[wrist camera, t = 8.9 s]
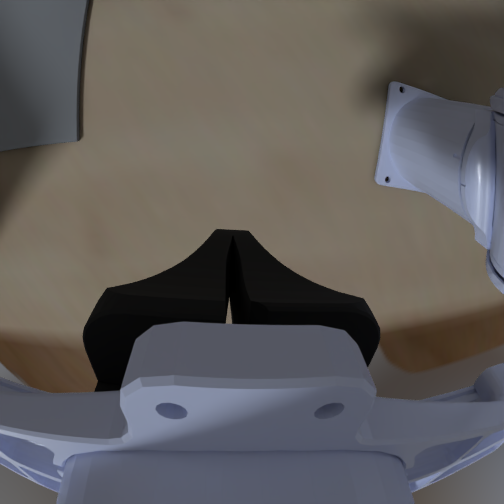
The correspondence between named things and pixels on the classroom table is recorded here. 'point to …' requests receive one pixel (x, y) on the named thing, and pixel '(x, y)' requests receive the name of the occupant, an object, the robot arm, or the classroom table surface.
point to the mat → (40, 71)
